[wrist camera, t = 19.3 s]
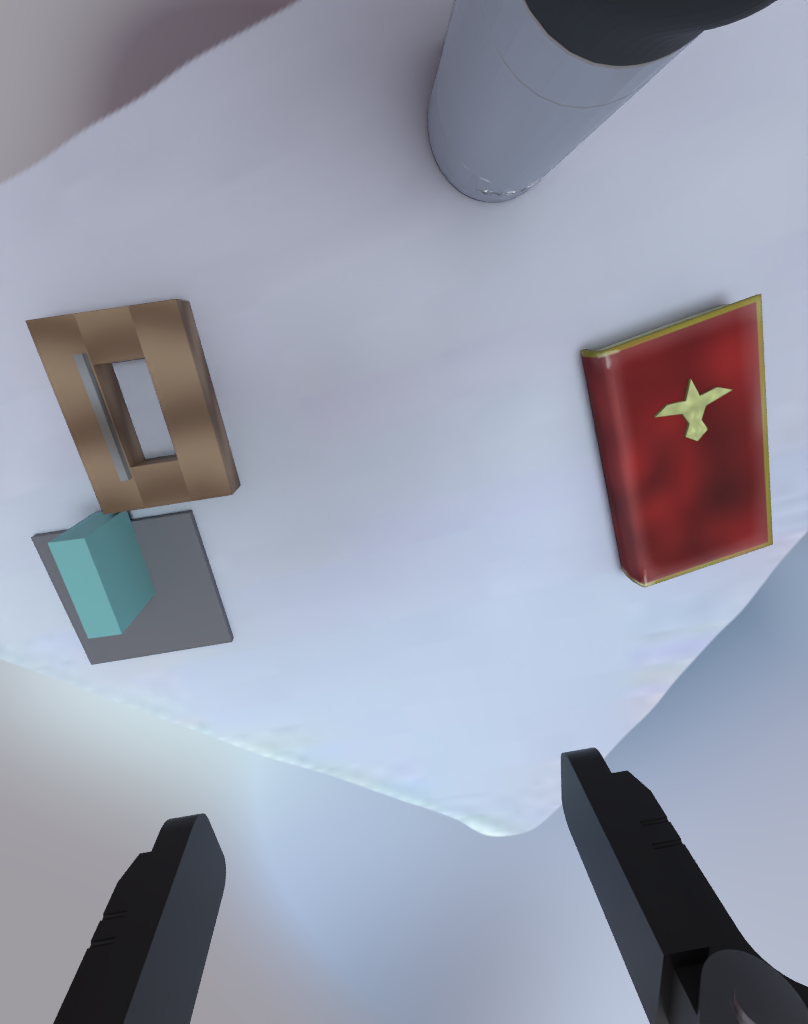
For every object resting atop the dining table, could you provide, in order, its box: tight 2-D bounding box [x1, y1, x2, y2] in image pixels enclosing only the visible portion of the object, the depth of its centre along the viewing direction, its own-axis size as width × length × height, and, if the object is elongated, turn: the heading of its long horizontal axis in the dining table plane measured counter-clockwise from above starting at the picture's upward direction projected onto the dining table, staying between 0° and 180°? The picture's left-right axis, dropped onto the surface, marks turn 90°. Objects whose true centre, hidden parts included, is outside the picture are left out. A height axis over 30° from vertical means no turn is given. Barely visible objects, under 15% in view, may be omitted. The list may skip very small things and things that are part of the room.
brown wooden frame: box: [26, 299, 240, 515], centre depth 34 cm, size 14×10×3 cm
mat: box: [31, 510, 233, 665], centre depth 40 cm, size 13×13×1 cm
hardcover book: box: [581, 294, 773, 587], centre depth 38 cm, size 12×21×4 cm, turn 19°
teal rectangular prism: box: [48, 511, 155, 639], centre depth 36 cm, size 6×2×8 cm
